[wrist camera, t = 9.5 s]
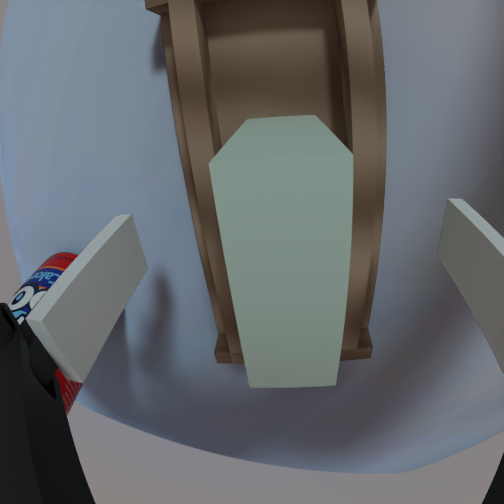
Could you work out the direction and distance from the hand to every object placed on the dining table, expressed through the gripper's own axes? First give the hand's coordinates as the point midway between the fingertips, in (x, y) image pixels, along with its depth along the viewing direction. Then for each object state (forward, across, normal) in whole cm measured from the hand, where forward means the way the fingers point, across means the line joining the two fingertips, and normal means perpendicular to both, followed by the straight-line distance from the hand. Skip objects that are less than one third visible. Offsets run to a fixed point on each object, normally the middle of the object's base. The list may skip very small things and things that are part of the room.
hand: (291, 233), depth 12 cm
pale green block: (+5, 0, -1) cm, 6 cm away
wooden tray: (+6, 0, 0) cm, 7 cm away
